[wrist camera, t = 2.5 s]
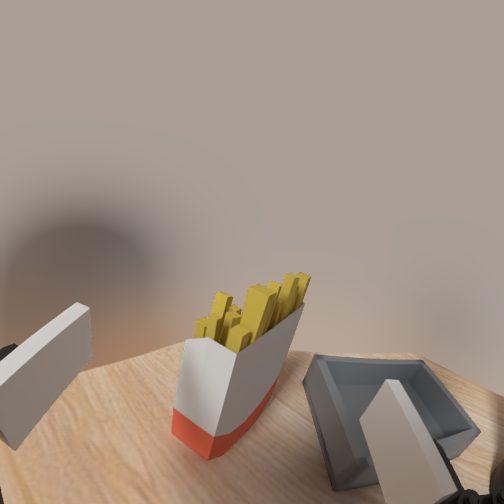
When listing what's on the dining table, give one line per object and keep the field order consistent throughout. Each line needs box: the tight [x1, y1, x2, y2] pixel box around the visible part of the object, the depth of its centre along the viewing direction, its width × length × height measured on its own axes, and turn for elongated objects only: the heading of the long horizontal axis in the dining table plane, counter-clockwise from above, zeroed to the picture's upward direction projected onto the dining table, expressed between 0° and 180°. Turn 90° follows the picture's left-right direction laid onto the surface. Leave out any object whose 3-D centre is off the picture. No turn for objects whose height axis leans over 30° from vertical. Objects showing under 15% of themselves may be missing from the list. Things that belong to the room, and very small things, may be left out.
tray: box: [303, 354, 481, 492], centre depth 26 cm, size 20×18×5 cm
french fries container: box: [172, 272, 311, 460], centre depth 21 cm, size 5×11×18 cm, turn 149°
